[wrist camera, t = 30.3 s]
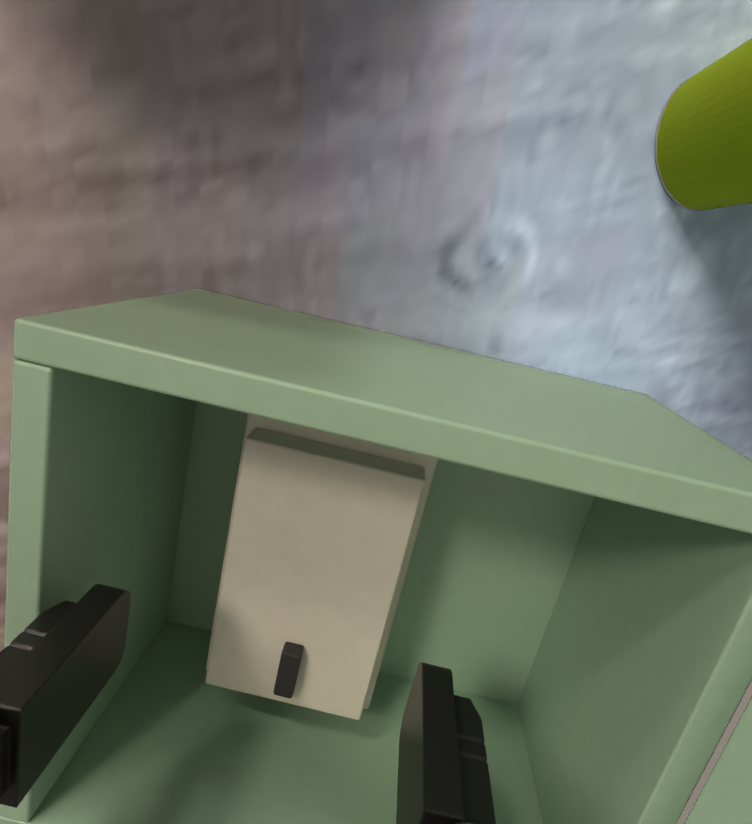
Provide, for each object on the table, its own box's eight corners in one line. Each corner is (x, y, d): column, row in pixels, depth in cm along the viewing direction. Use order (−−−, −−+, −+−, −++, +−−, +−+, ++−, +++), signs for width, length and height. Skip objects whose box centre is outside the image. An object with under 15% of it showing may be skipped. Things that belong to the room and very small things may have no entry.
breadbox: (155, 619, 22) (-4, 839, 14) (196, 287, 19) (11, 317, 10) (526, 709, 22) (592, 985, 14) (647, 394, 18) (841, 514, 10)
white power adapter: (375, 648, 21) (364, 750, 17) (233, 614, 21) (186, 707, 17) (441, 405, 18) (448, 452, 14) (277, 366, 18) (234, 401, 14)
